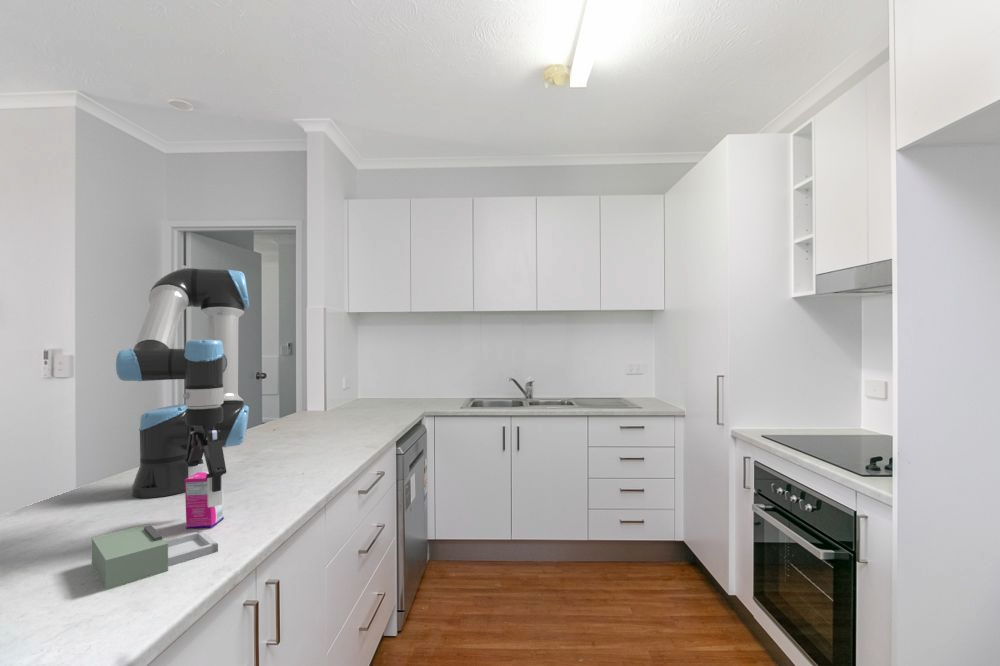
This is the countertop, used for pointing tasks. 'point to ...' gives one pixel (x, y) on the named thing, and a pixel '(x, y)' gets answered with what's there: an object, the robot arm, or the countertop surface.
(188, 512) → the supplement box
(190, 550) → the sliding drawer box
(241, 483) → the countertop surface
